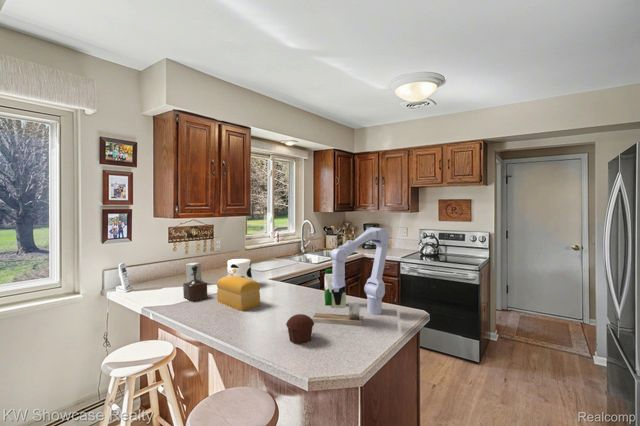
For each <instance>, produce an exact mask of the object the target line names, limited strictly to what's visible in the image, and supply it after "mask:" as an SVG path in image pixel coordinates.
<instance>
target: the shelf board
mask: <svg viewBox="0 0 640 426" xmlns="http://www.w3.org/2000/svg"><path fill="white" fill-rule="evenodd" d="M309 317H310V318H311V319H312V320H313V322H314V323H321V324H334V325H347V326H348V325H349V326H360V327H361V326H362V325H363V320H364V315H362V316H361V315H360V320H349V314H348V315H347V314H337V313H336V314H335V313H334V314H333V313H323V312H322V313H320V312H316V313H314V315H313V316H309Z"/></svg>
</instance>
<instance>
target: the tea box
mask: <svg viewBox="0 0 640 426" xmlns="http://www.w3.org/2000/svg"><path fill="white" fill-rule="evenodd" d="M346 306H347V293H346V292H344V293H343V294H342V297H341V304H340V305H336V304H335V300H334V296H333V294H332V306H331V308H335V309H346Z"/></svg>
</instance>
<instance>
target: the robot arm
mask: <svg viewBox="0 0 640 426" xmlns="http://www.w3.org/2000/svg"><path fill="white" fill-rule="evenodd" d="M389 235H390V232H388V230H387V229H386V228H384V227H374V226H370V227H369V228H367V229H365V230H364V232H363V233H362V234H359V236H358V237H356V238H355V239H354V240H352V239H350V240H349V239H348V240H346V241H345V242H344V244H341V245H339V246H338V247H337V248H334V249H332V250H331V252H330V254H329V258H330V260H331V262H332V263H331V264H332V269H333V283H330V285H332V286H333V287H334V289H332V290H331V292H332V294H333V296H334V300H335V304H336V305H340V304H341V297H342V294H343V293H345V290H346V287H347V286H346V281H345V279H346V278H345V277H346V276H345V273H346V270H345V268H346V266H345V263H346V261H347V259H348V257H349V256H351V255H352V254H353V253H354V252H357V250H358V247H359V246H362V245H363V244H364V243H366V242H367V241H369V240H370V241H371V242H373V243H374V245H375V246H376V249H375V255H374V259H373V264H372V270H371V275H370V277H369V278H367V280H366V283H365V284H364V287H363V290H364V293H365V294H366V297H367V298H366V299H367V300H366V303H367V305H366V306H367V307H366V308H367V310H366V312H367V314H369V315H373V316H378V315H381V314H382V313H383V311H382V310H383V309H382V308H383V307H382V306H383V303H382V302H383V300H382V299H383V298H384V296H385V294H386V284H385V282H384V280H383V274H384V270H385V264H386V258H387V253H388V248H389V240H388V239H389Z"/></svg>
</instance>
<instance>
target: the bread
mask: <svg viewBox="0 0 640 426" xmlns="http://www.w3.org/2000/svg"><path fill="white" fill-rule="evenodd" d="M216 287H217V289H216V290H217V293H216V300H217V303H219V302H220V303H219V304H221V303H222V304H221V305H223V304H225V305H224V306H226V305H227V306H226V307H229V306H230V307H229V308H231V307H232V308H231V309H233V310H234V309H235V310H237V311H239V312H244V311H246V310H247V311H248V310H250V309H253V308H256V307H257V308H258V307H259V306H260V304H261V293H260V292H261V291H260V290H261V285H260V283H259V282H258V281H257V280H254V279H253V280H251V279H247V278H243V277H239V276H235V275H229V276H227V275H226V276H223V277H220V278H219V279H218V280H217V282H216Z"/></svg>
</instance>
